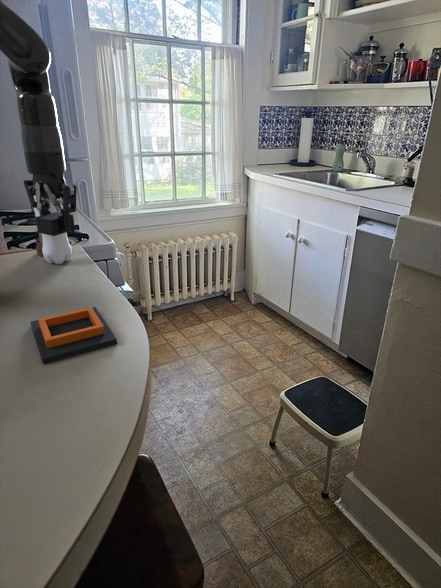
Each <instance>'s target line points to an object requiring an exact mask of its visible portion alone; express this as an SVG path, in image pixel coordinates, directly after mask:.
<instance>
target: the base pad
mask: <svg viewBox="0 0 441 588" xmlns="http://www.w3.org/2000/svg"><path fill="white" fill-rule="evenodd" d="M30 325H31V326H30V327H31V330H32V332H33V336H34V339H35V343H36V345H37V350H38V352H39V356H40V359H41V362H42V365H45V364H49V363H54V362H57V361H59V360H63V359H67V358H71V357H74V356H78V355H81V354H85V353H88V352H92V351H96V350H99V349H103V348H107V347H111V346H115V345H118V338H117V337H116V336H115V334H114V333H113V331H112V330H111V328H110V326H109V325H108V324H107V322H106V320H105V319H104V318H103V316H102V314H101V313H100V312H99V310H98V308H97V306H94V307H93V306H91V307H86V308H82V309H78V310H73V311H68V312H64V313H60V314H55V315H50V316H46V317H42V318H38V319H37V320H31V321H30Z"/></svg>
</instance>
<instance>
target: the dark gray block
mask: <svg viewBox="0 0 441 588" xmlns="http://www.w3.org/2000/svg"><path fill="white" fill-rule="evenodd" d="M58 216H59V215H58V213H57V212H55V213H50V214H46V215H42V216H38V217H35V216H34V218H35V223H36V228H37V233H38V234H39V233H42V234H46V235H51V236H56V235H59V234H63V232H61V231H60V226H59V220H58ZM69 219H70V226H71V228H70V231H68V232H67V233H69V232H72V231H75V230H76V225H75V219H74V214H73V213H70V214H69ZM65 233H66V232H65Z"/></svg>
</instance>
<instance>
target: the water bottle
mask: <svg viewBox="0 0 441 588" xmlns="http://www.w3.org/2000/svg"><path fill="white" fill-rule="evenodd" d="M34 200H35V202H37V201H36V196H34ZM56 200H62V198H60V199H56ZM44 204H45V202H44ZM60 206H61V208H62V209H63V205H62V204H60ZM33 209H34V215H35V214H36V217H38V216H40V212H38V210H37V209H36V208H33ZM49 211H51V213H55V212H57V210H56V208H55V206H53V205H52V203H51V202H50V209H49ZM41 234H42V233H41ZM42 239H43V248H42V252H43V256H44V257H43V258H44V260H45V261H46V263H48V264H53V263H54V264H55V265H62V264H63V263H64V262H70V260H71V259H72V255H73V250H72V246H71V244H70V242H69V238H68V232H66V233H63V234H59V235H56V236H51V235H46V234H42Z"/></svg>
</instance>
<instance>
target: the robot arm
mask: <svg viewBox="0 0 441 588" xmlns="http://www.w3.org/2000/svg"><path fill="white" fill-rule="evenodd" d="M50 51H51V50H50V48H49V46H48V45H47V43H46V41H45V40H44V39H43V38H42V37H41V36H40V34H39V33H38V32H37V31H36V30H35V29H34V28H33V27H32V26H30V25H29V24H28V22H26V21H25V19H23V18H22V17H21V16H19V14H17V12H16V11H14V10H13V9H12V8H10V7H9V6H8V5H7V4H6V3H5V2H4V1H3V0H0V52H1V53H2V54H3V55H4V56H5V57H6V60H7V65H8V68H9V73H10V78H11V81H12V84H13V85H12V86H13V89H14V92H15V100H16V108H17V113H18V115H17V116H18V120H19V124H20V125H19V126H20V138H21V143H22V148H23V154H24V160H25V167H26V171H27V173H29V174H30V175H32V178H31V179H25V180H23V187H24V188H25V191H26V195H27V198H28V201H29V203H30V206H31V208H32V209H34V208H36V209H37V210H38V212H40V216H42V215H46V214H50V213H51V211H49V209H50V202H51V203H52V205H53V206H55V208H56V210H57V213H58V215H59V216H58V220H59V226H60V231H61V232H63V233H65V232H67V233H69V232H71V231H70V228H71V226H70V219H69V214H73V213H76V212H77V189H78V188H77V185H76V184H69V183H67V181H66V180H65V177H64V174H65V173H66V172H67V165H66V160H65V153H64V144H63V138H62V133H61V131H60V126H59V121H58V113H57V107H56V102H55V98H54V96H53V95H52V93H51V87H50V79H49V73H48V70H49V68H50V65H51V63H52V62H51V61H52V57H51V56H52V55H51V52H50ZM34 196H36V201H37V202H35V200H34ZM60 198H62V200H56V199H60ZM44 202H45V204H44ZM60 204H62V205H63V209H62V208H61V206H60ZM68 231H69V232H68Z"/></svg>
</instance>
